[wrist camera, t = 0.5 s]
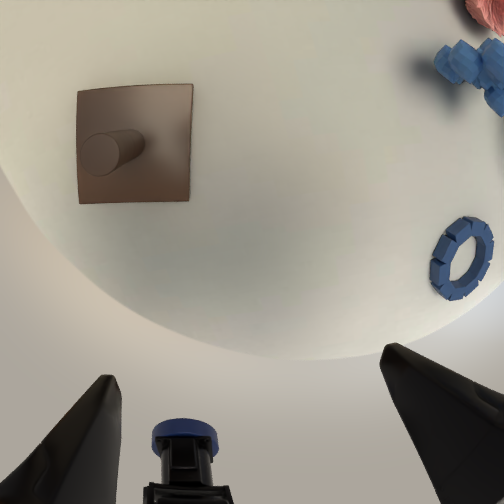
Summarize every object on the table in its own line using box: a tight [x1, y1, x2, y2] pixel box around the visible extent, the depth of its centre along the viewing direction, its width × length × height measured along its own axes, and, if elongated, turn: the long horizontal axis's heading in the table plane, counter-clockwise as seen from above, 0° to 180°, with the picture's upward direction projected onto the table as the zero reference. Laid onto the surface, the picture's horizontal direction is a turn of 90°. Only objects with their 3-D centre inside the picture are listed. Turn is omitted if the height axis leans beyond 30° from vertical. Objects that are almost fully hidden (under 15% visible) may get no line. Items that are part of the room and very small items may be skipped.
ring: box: [430, 217, 494, 301], centre depth 28 cm, size 9×10×2 cm
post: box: [76, 84, 194, 204], centre depth 16 cm, size 8×8×8 cm
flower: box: [465, 0, 504, 37], centre depth 15 cm, size 8×8×6 cm
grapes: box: [434, 38, 504, 118], centre depth 15 cm, size 12×7×12 cm, turn 103°
